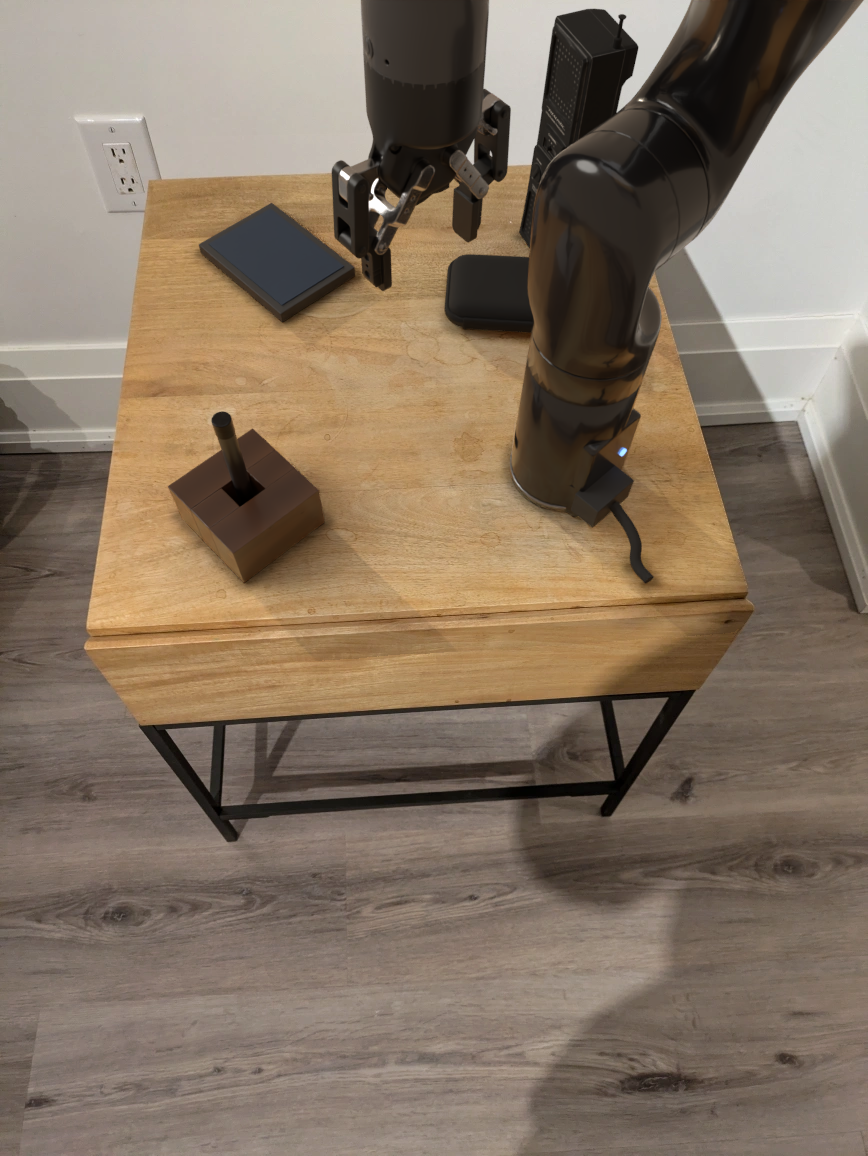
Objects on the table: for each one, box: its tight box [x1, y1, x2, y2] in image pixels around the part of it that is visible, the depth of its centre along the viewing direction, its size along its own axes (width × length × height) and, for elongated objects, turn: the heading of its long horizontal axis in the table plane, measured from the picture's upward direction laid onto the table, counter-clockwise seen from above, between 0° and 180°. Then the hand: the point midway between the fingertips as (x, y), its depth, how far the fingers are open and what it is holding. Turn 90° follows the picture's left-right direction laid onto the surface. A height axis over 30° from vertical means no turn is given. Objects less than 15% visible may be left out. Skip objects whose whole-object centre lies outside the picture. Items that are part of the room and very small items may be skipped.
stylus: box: [210, 410, 255, 507], centre depth 69 cm, size 2×2×14 cm
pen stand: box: [167, 428, 326, 584], centre depth 73 cm, size 9×9×5 cm
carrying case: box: [443, 253, 533, 334], centre depth 87 cm, size 11×3×15 cm
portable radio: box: [518, 8, 639, 249], centre depth 82 cm, size 8×6×25 cm
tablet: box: [198, 202, 356, 323], centre depth 90 cm, size 14×10×1 cm
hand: (423, 258), depth 65 cm, fingers open, 8 cm apart
